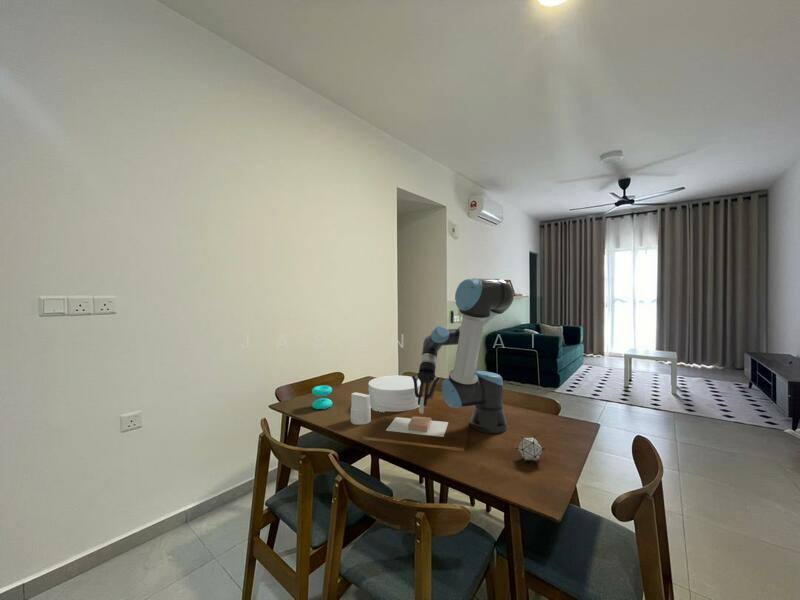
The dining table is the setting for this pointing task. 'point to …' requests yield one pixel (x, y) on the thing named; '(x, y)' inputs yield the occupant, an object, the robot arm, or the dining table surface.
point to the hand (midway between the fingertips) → (420, 412)
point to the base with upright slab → (360, 408)
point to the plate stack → (393, 393)
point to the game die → (530, 449)
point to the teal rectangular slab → (419, 424)
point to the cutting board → (402, 426)
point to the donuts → (322, 402)
